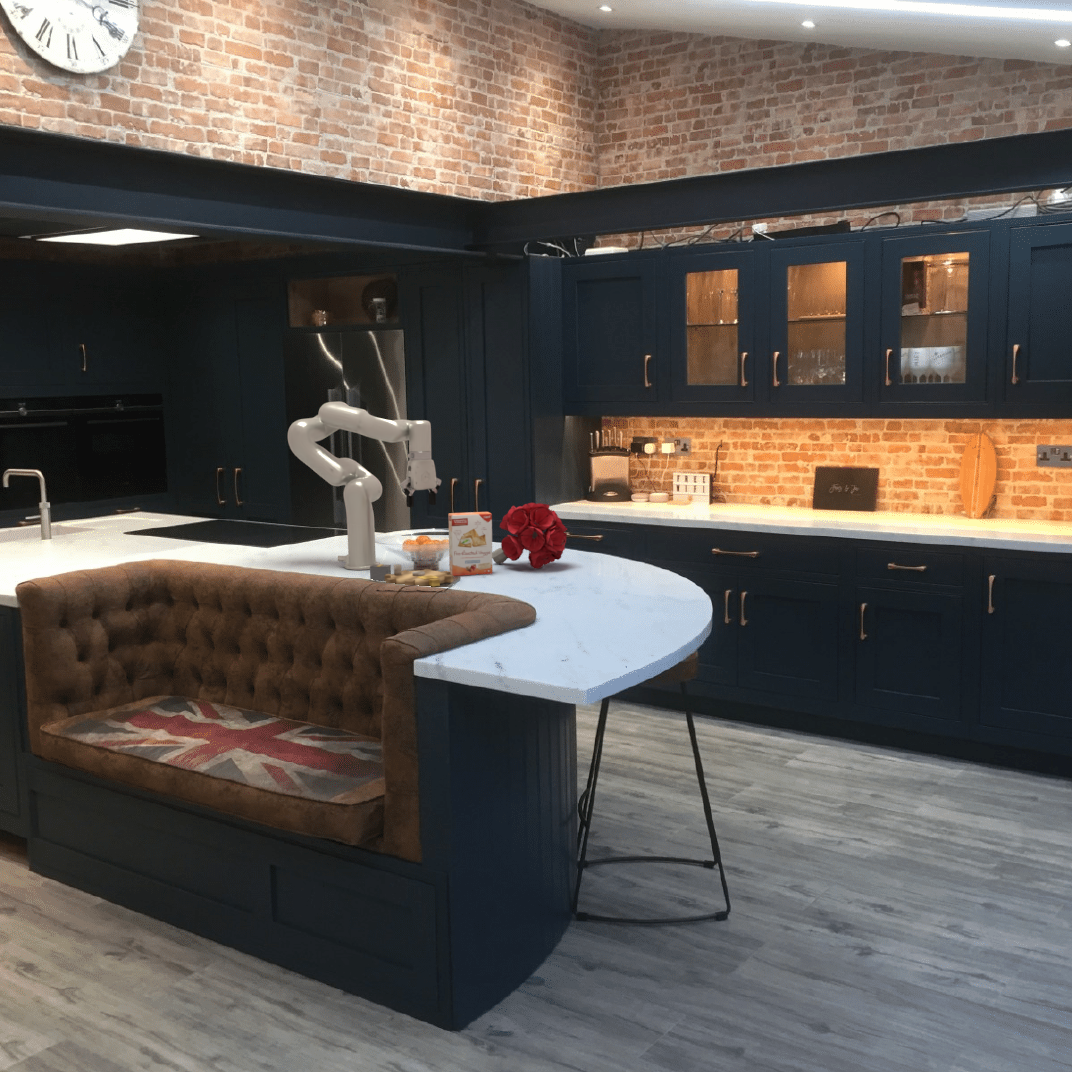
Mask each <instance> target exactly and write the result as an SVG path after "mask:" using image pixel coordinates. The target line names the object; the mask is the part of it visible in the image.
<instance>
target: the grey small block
mask: <svg viewBox="0 0 1072 1072" xmlns="http://www.w3.org/2000/svg"><path fill="white" fill-rule="evenodd" d="M391 567H392V566H391V564H381V563H380V565H372V566H370V569H369V575H370V576H369V578H370V579H373V580H379V581H378V582H385V575H386V574H392V572H391V571H392V570H391V569H392V568H391ZM370 579H369V580H370Z"/></svg>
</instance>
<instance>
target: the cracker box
mask: <svg viewBox="0 0 1072 1072" xmlns="http://www.w3.org/2000/svg"><path fill="white" fill-rule="evenodd" d="M448 546H449V547H448V557H449V559H448V562H449V564H448V566H449V572H451V575H453V577H461V576H474V575H475V576H476V574H479V575H493V558H492V552H493V514H492V513H491V512H489V511H473V512H471V511H470V512H468V511H467V512H453V513H452V512H451V513H448Z"/></svg>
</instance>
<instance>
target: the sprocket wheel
mask: <svg viewBox="0 0 1072 1072" xmlns="http://www.w3.org/2000/svg"><path fill="white" fill-rule="evenodd" d="M453 577H454V576H453V575H451V572H450V570H444V571H443V570H442V571H440V570H433V569H431V568H430V569H427V568H425V569H422V570H402V564H394V565H393V573H391V574H386V575H385V581H384V583H385V582H386V583H395V584H405V585H419V586H432V587H434V586H440V584H442V583H445V582H448V583H451V582H453Z"/></svg>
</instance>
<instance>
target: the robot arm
mask: <svg viewBox="0 0 1072 1072" xmlns="http://www.w3.org/2000/svg"><path fill="white" fill-rule="evenodd" d="M431 425H432V424H431V422H430V421H429V420H425V419H424V420H423V419H421V420H419V419H418V420H417V419H416V420H409V419H403V418H402V419H393V420H391V419H387V418H386V419H385V418H381V417H377V416H374V415H371V414H370V413H369V412H368V411H367V410H366V409H363V408H359V407H355V406H354V407H353V406H349V405H348V404H347V403H345V402H344V401H329V402H325V403H323V404H322V405H321V406H320V407H319V410H318V414H316V415H315V416H314V417H309V418H301V419H297V420H295V421H294V422H292V423H291V425H290V426H289V428H288V431H287V442H288V446H289V449H290V450H291V452H292V453H293V454H294V456H295V457H297V459H299V460H300V461H301V462H302V463H303V464H305V465H306V466H308V467H309V468H310V469H311V470H313V472H315V473H316V474H317V475H318V476H319V477H320V478H322V479H323V480H325V482H327V483H328V484H329V485H331V486H333V487H334V486H335V487H340V486H345V487H344V489H343V502H344V505H345V512H346V514H345V515H346V525H347V551H348V552H347V553H348V554H346V555H337V562H339V563H341V562H345V564H344V566H343V567H344V569H346V570H352V571H353V570H354V571H363V570H365V571H366V570H370V566H372V565H380V564H381V563H380V562H379V561H376V560H377V558H376V555H377V554H376V532H375V530H376V529H375V516H374V515H375V514H374V510H373V509H374V508H373V504H372V503H373V502H375V501H377V500H379V499H380V497H382V494H383V486H382V483H381V482H380V480H379V478H377V477H376V476H375V475H374V474H372V473H371V472H370V471H368V469H366V468H365V467H364V466H362V465H361V464H360V463H359V462H357V461H356V460H354V459H352V458H349V457H340V458H339V457H336V456H335V455H333V454H332V453H331V452H330V451H328V450H327V449H326V448H324V447H323V446H321V445H319V444H318V443H317V442H320V441H322V440H324V439H325V438H327V437H329V436H331V435H332V434H333V433H335V432H337V431H338V430H343V431H348V432H351V433H356V434H358V435H362V436H364V437H367V438H370V439H374V440H378V441H381V442H382V441H383V442H387V443H399V442H406V441H408V444H409V445H408V447H409V451H408V453H407V458H408V459H409V460H408V461H407V466H406V477H405V478H406V479H404V480H403V481H402V482H400V483H399V487H400V488H401V491H402V493H404V495H405V497H406V498H405V499H406V500H405V501H406V503H405V504H406V507H407V508H414V507H415V500H414V499H415V498H414V497H415V496H414V495H413V494H414V492H415V491H424V490H428V491H429V492H428V505H431V506H436V505H437V496H436V495H437V493H438V490H439V489H440V488H441V487H440V486H441V484H442V479H440V478H438V477H437V472H436V465H435V462H434V459H432V428H431V427H432V426H431Z"/></svg>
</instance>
